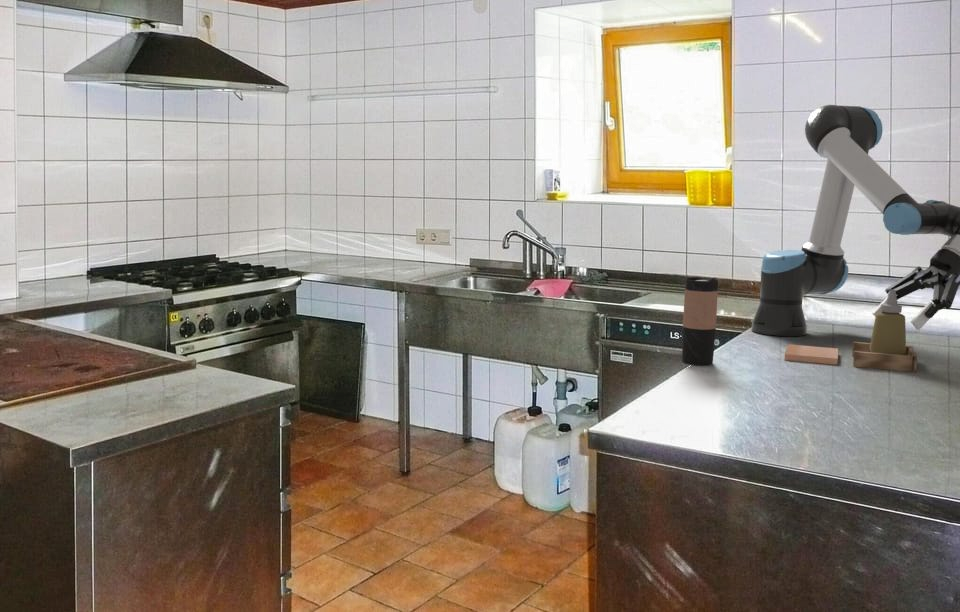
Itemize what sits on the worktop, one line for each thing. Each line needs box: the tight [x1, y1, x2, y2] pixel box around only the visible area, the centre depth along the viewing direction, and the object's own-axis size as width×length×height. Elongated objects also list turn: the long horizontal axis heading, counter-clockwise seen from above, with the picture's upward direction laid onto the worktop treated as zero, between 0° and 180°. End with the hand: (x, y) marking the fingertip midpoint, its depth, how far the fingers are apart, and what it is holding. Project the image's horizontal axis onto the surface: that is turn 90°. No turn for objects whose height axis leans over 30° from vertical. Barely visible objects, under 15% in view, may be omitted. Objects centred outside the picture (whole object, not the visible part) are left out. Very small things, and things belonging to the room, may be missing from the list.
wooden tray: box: [852, 341, 918, 373], centre depth 217 cm, size 14×14×4 cm
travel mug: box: [681, 277, 719, 367], centre depth 212 cm, size 8×8×20 cm
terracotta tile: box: [784, 344, 839, 366], centre depth 223 cm, size 12×14×2 cm
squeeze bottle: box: [869, 290, 907, 355], centre depth 216 cm, size 8×8×18 cm
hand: (894, 321), depth 215 cm, fingers open, 13 cm apart
